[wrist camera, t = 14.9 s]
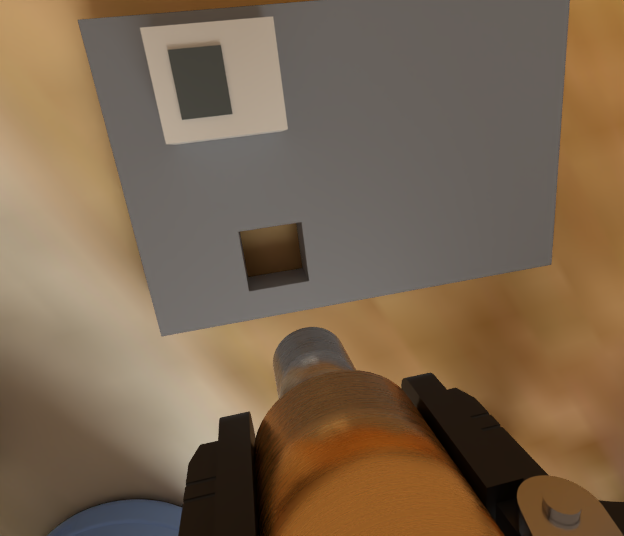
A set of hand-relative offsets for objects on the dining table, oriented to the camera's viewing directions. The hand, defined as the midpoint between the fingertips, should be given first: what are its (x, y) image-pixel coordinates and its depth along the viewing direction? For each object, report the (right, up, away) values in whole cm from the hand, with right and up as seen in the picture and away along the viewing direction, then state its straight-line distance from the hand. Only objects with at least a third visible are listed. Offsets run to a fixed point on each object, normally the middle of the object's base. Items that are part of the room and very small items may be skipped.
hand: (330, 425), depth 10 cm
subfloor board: (+2, +11, +17) cm, 21 cm away
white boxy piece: (-6, +14, +12) cm, 19 cm away
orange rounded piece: (-1, +1, +3) cm, 3 cm away
